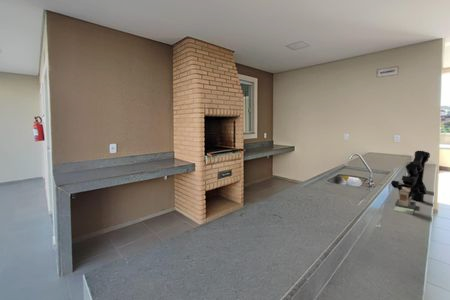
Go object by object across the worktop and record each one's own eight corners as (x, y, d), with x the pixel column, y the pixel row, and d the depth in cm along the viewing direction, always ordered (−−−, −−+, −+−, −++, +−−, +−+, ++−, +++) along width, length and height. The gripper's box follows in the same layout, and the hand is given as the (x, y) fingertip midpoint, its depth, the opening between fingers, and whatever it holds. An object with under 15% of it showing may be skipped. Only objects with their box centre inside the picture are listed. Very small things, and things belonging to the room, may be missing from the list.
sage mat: (395, 207, 160) (395, 206, 160) (413, 210, 153) (413, 209, 153) (393, 211, 153) (393, 209, 153) (412, 214, 146) (412, 213, 146)
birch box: (401, 202, 156) (402, 189, 155) (410, 204, 152) (411, 190, 151) (398, 204, 153) (399, 190, 152) (407, 206, 149) (408, 192, 148)
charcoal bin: (397, 202, 169) (397, 199, 169) (415, 206, 162) (416, 202, 161) (395, 206, 161) (395, 202, 161) (414, 210, 154) (414, 206, 154)
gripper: (393, 169, 160) (385, 186, 156) (426, 173, 144) (418, 193, 140) (397, 178, 165) (389, 195, 161) (429, 183, 149) (422, 202, 145)
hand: (403, 196), depth 151 cm, fingers closed on birch box, 5 cm apart
